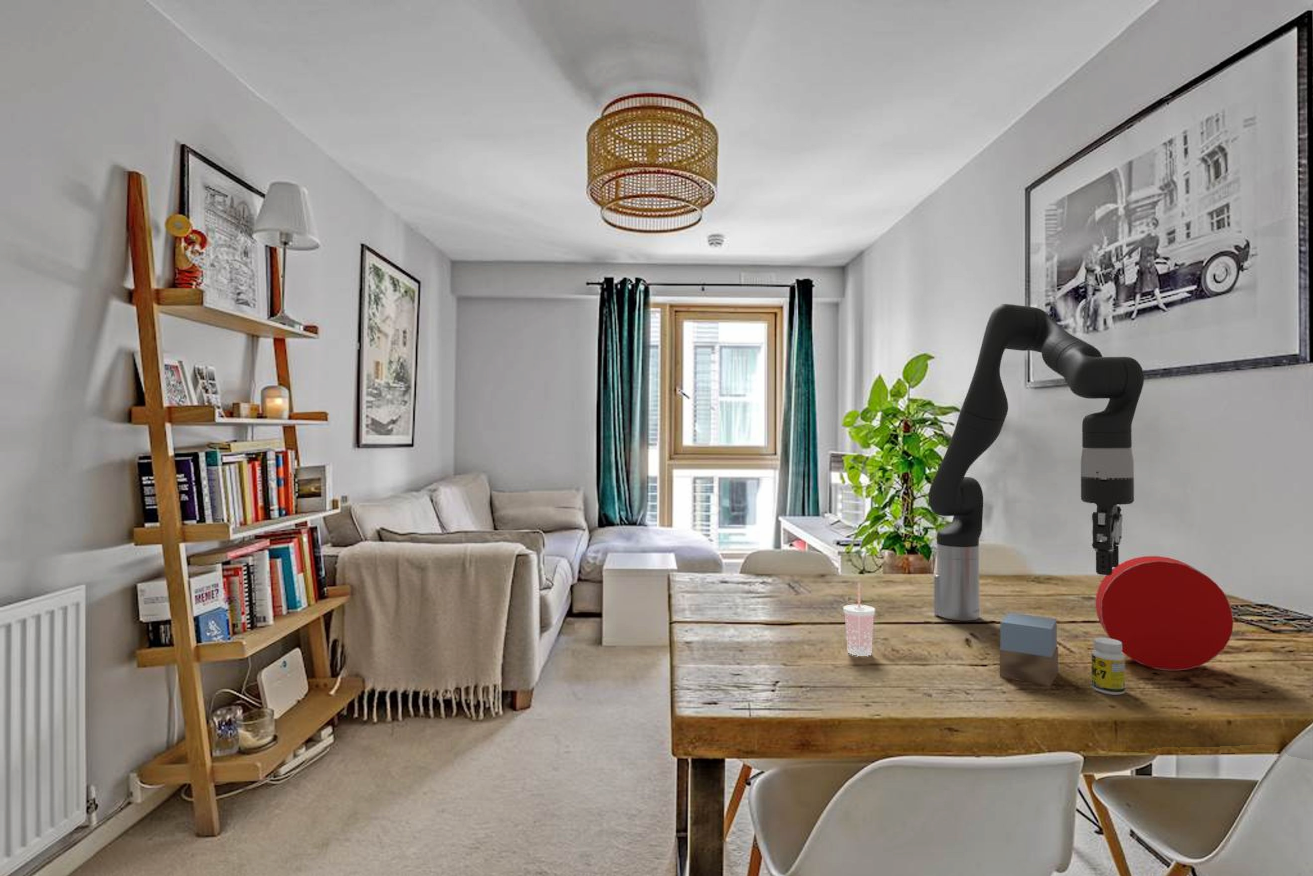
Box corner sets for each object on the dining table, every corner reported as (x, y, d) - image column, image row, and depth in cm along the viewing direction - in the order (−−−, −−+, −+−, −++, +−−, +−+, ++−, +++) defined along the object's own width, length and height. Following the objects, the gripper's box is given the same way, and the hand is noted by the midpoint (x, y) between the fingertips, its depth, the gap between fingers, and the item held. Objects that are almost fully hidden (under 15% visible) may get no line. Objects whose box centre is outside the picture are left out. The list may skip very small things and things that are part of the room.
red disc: (1222, 667, 128) (1221, 559, 127) (1233, 677, 122) (1233, 564, 122) (1095, 654, 136) (1095, 552, 136) (1101, 663, 130) (1100, 557, 130)
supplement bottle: (1085, 685, 119) (1084, 637, 119) (1110, 684, 119) (1110, 636, 119) (1105, 696, 114) (1105, 645, 114) (1132, 695, 114) (1131, 644, 114)
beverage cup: (875, 650, 139) (875, 580, 139) (875, 659, 134) (874, 587, 133) (844, 647, 141) (844, 579, 141) (842, 656, 136) (842, 585, 135)
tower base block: (999, 677, 124) (999, 649, 124) (1009, 665, 130) (1009, 639, 130) (1050, 687, 119) (1050, 658, 119) (1058, 674, 125) (1058, 646, 125)
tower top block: (1000, 649, 124) (1000, 621, 124) (1008, 638, 130) (1008, 612, 130) (1051, 657, 119) (1051, 629, 119) (1056, 646, 125) (1056, 618, 125)
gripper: (1087, 472, 124) (1088, 562, 124) (1074, 476, 113) (1074, 574, 113) (1137, 473, 120) (1138, 566, 120) (1129, 477, 109) (1129, 580, 109)
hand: (1107, 570), depth 117 cm, fingers open, 8 cm apart
